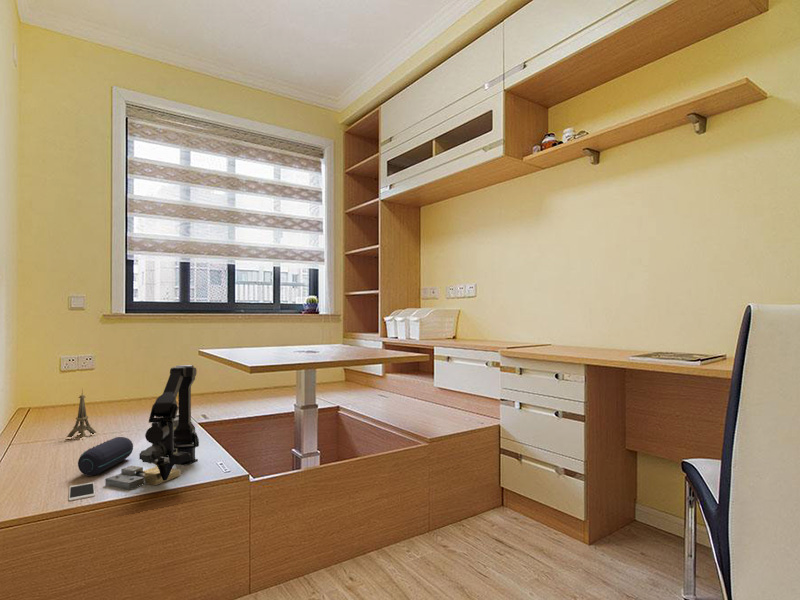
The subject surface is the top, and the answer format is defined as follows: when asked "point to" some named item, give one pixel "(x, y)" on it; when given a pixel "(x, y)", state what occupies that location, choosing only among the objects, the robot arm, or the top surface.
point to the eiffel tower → (81, 420)
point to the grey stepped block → (126, 478)
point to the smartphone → (81, 491)
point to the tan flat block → (157, 475)
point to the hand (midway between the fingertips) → (164, 480)
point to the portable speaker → (105, 455)
